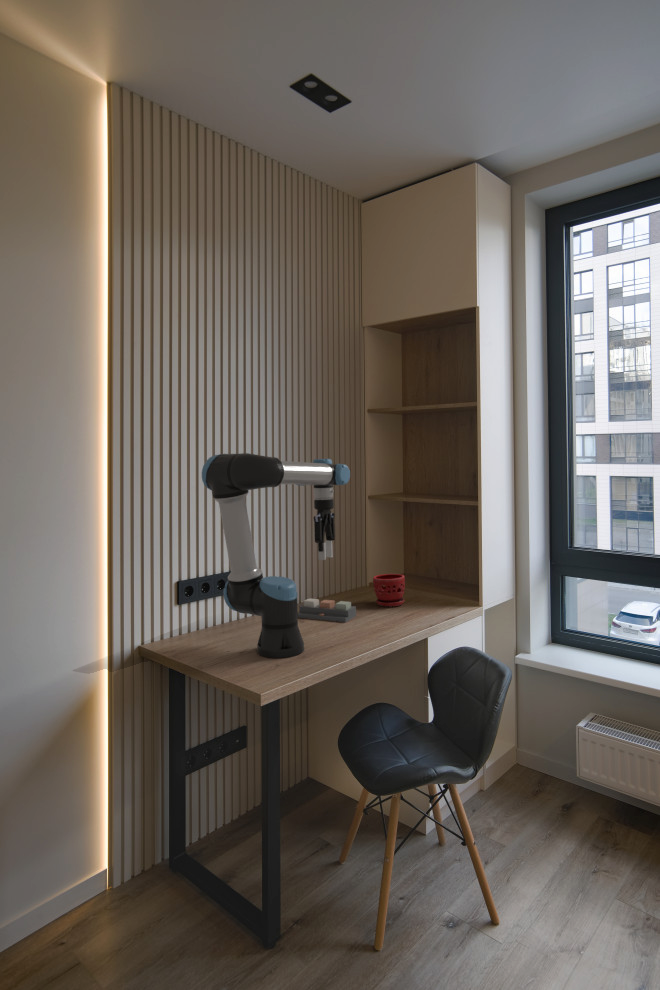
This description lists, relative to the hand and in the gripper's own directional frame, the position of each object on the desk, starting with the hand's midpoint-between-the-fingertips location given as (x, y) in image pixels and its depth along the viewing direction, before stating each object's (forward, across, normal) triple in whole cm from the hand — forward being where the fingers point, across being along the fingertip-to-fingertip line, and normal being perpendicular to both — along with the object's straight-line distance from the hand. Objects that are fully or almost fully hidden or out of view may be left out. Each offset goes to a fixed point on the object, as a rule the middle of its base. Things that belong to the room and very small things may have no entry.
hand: (325, 558), depth 238 cm
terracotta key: (+20, 0, 0) cm, 20 cm away
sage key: (+20, 0, -7) cm, 21 cm away
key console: (+23, -1, 0) cm, 23 cm away
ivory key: (+20, 0, +7) cm, 21 cm away
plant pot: (+23, +26, -16) cm, 38 cm away
